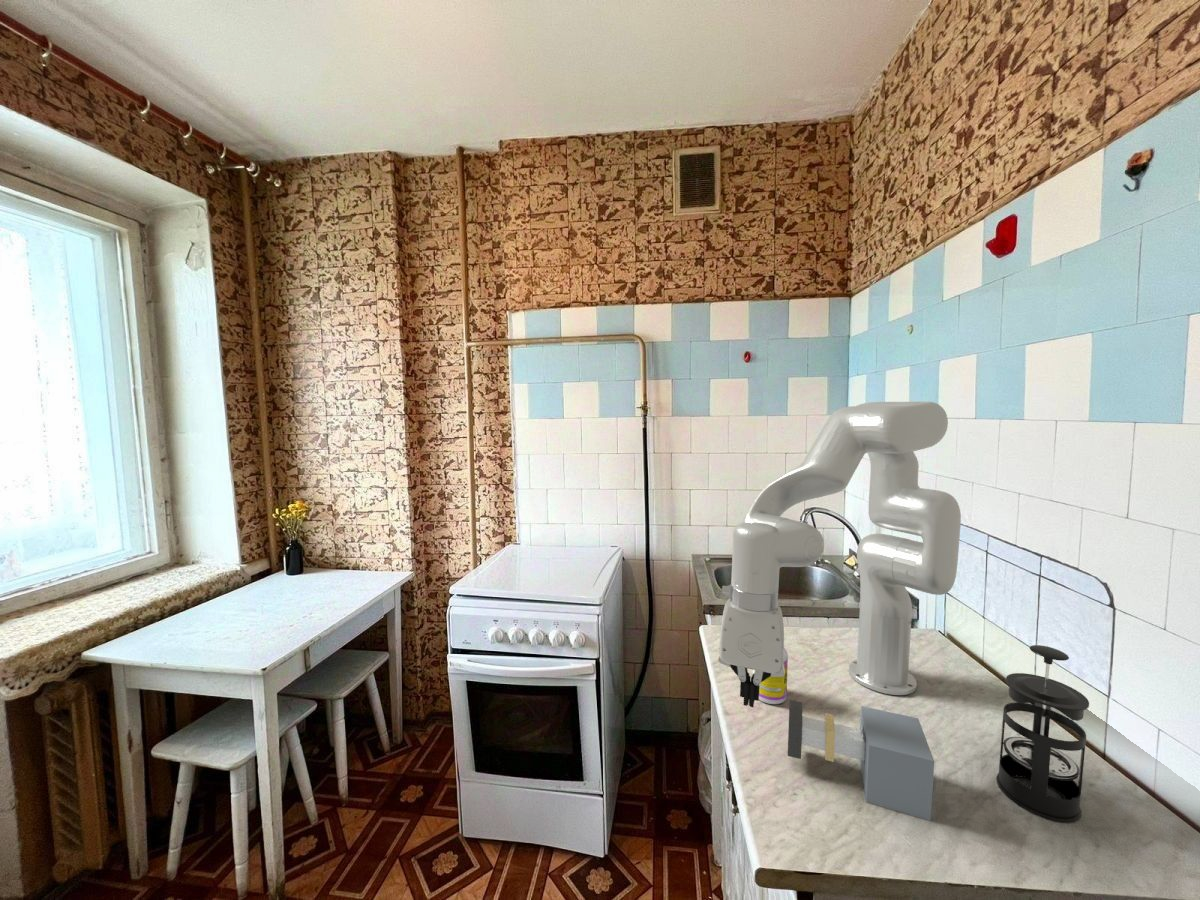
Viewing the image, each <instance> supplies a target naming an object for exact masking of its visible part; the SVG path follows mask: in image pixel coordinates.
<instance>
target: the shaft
mask: <svg viewBox="0 0 1200 900" xmlns="http://www.w3.org/2000/svg"><path fill="white" fill-rule="evenodd" d="M788 707H789V708H788V709H789V711H788V732H787V733H788V737H787V756H788V757H791V758H794V759H799V760H802V746H807V747H809V748H810V747H811V748H812V749H813V748H814V749H817V750H821V751H824V758H825V761H828V762H832V763H834V762H835V761H834V760H835V754H837V755H840V756H845V757H849V758H852V759H855V760H856V759H857V760H859V759H860V760H863V761H865V749H866V736H865V731H864V730H860V729H858V728H855V727H851V726H846V725H842V724H838V723H835V720H834V719H835V718H834V714H831V713H827V712H824V713H825V714H824V720H821V719H817V718H814V717H813V718H812V717H808V716H803V702H802V701H797V700H794V699H789V706H788Z"/></svg>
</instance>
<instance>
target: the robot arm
mask: <svg viewBox="0 0 1200 900" xmlns="http://www.w3.org/2000/svg"><path fill="white" fill-rule="evenodd" d="M948 424H949V420H948V415H947V412H946V410H945V409H944V407H943V406H942V405H940V404H939V403H936V402H934V401H875V402H873V401H871V402H864V403H860V404H857V405H854V406H844V407H841V408H838V409H837V410H835V411H834V412H832V413H831V414H830V416H829V418H827V421H826V422H825V423H824V425H823V427H822V429H821V431H820V432H819V434H818V435H817V438H816V439H815V440H814V442H813V444H812V446H811V447H810V449H809V451H808V452H807V454H806V456H805V457H804V459H803V461H802V462H801V463H800V465H799V466H796V467H795V468H792V469H791V470H789V471H788V472H786V473H784V474H783V475H781V476H780V477H778V478H777V479H775V480H773V481H772V482H770V484H768V485H766V486H765V487H764V488H763V489H762V490H761V492H759V494H758V495H757V496H756V498H755V499H754V501H753V502H752V504H751V506H750V507H749V509H748V511H747V512H746V515H745V516H744V518H743V521H742V522H741V523H738V524H737V525H736V526H734V529H733V534H732V552H731V553H732V555H731V557H732V558H731V559H732V560H731V561H732V562H731V576H730V577H731V582H730V584H729V585H722V588H721V593H722V594H724V595H726V596H728V599H727V600H726V601H725V604H724V607H723V612H722V618H721V628H720V633H719V634H720V636H719V652H718V653H719V656H718V660H717V661H718V663H720V664H722V665H724V666H726V667H729V668H731V670H732V672H734V673H735V675H737V678H738V680H739V681H740V684H739V687H740V688H739V689H740V690H739V696H740V698H743V706H745V707H746V706H749V707H750V708H754V706H755V701H757V702H758V701H760V700H759V686H760V684H761V682H763V681H764V680H766V679H767V678H769V677H770V676H773V677H783V676H784V675H785V669H784V664H783V661H784V648H785V630H784V629H785V626H784V617H783V612H782V607H781V606H780V605H778V604H779V603H778V602H779V583H780V582H779V581H780V569H781V568H783V567H784V568H802V567H803V568H804V567H808V566H810V565H813V564H815V563H816V562H817V561H818V560H820V558H821V556H822V555H823V552H824V550H825V541H824V537H823V534H822V533H821V532H820V530H818V529H817V528H816V527H814V526H813V525H811V524H809V523H806V522H803V521H798V520H794V519H790V518H787V517H786V518H785V517H783V516H782V515H783V514H784V513H785V512H786V511H787V510H788V509H790V508H792V507H793V506H796V505H797V504H800V503H802V502H805V501H806V502H807V501H809V500H810V501H811V500H813V499H818V498H819V499H820V498H823V497H826V496H829V495H830V496H831V495H834V494H835V495H836V494H837V493H841V492H842V491H844V490H845V489H846V488H847V486H848V485H849V483H850V482H851V479H852V478H853V476H854V474H855V472H856V471H857V469H858V467H859V464H860V462H861V461H862V459H863V458H864V456H865V454H867V455H868V457H869V461H870V479H869V490H868V492H869V493H868V517H869V520H870V522H871V523H873V525H875V526H877V527H879V528H883V529H885V530H890V531H894V532H899V533H902V534H903V533H904V534H909V535H914V536H919V537H920V538H921V539H922V542H921V541H917V540H912V539H909V538H906V537H899V536H895V535H892V534H885V533H873V534H868V535H866V536H864V537H863V538H862V539H861V540H860V542H859V543H858V545H857V548H856V560H857V566H858V573H859V581H860V582H859V583H860V584H859V585H860V587H859V588H860V591H859V592H860V595H859V614H858V615H859V617H858V639H857V658H856V659H854V660H852V661H851V662H850V663H849V664H848V672H849V675H850V676H851V677H852V679H854V680H855V681H856V682H857V683H859V684H860V685H861V686H863V687H865V688H867V689H870V690H872V691H874V692H878V693H882V694H885V695H891V696H907V695H911V694H913V693H914V692H915V691H917V687H918V686H917V685H918V684H917V680H916V678H915V677H914V676H913V674H911V673H910V672H909V667H910V666H909V665H910V651H911V635H912V615H913V604H912V603H913V602H912V600H911V597H910V594H909V592H908V590H907V588H909V589H912V590H915V591H919V592H922V593H926V594H930V595H934V596H935V595H936V596H942V595H946V594H947V593H949V592H950V591H951V590H952V588H953V587H954V584H955V581H956V578H957V573H958V572H957V570H958V561H959V560H958V559H959V551H960V550H959V549H960V547H959V546H960V537H961V524H962V523H961V521H962V517H961V516H962V515H961V509H960V505H959V502H958V501H957V499H956V498H955V497H954V496H953V495H952V494H950V493H948V492H945V491H942V490H936V489H930V488H922V487H920V485H919V465H920V464H919V460H918V458H917V456H916V455H917V454H915V452H916V451H920V450H925V449H929V448H932V447H934V446H935V445H937V444H939V443H940V442H941V441H942V439H943V438H944V437H945V435H946V433H947V431H948V427H949V426H948ZM748 669H749V670H752V671H753V670H755V673H754V674H753V673H752V675H750V673H749V670H748Z"/></svg>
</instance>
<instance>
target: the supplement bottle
mask: <svg viewBox="0 0 1200 900" xmlns="http://www.w3.org/2000/svg"><path fill="white" fill-rule="evenodd" d="M788 657H789V654H788V651H787V649H786V648H785V647H784V661H783V664H784V669H785V675H784V676H783V677H773V676H770V677H769V678H767V679H766V680H764V681H763V682H761V684H760V686H759V700H758V701H761V702H763V703H764V704H770V705H779V704H782V703H784V702H785V701H786V699H787V696H788V695H787V694H788V692H787V691H788V668H789V667H788V661H789V658H788ZM754 673H755V670H753V669H752V675H753V674H754Z"/></svg>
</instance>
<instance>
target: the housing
mask: <svg viewBox="0 0 1200 900" xmlns="http://www.w3.org/2000/svg"><path fill="white" fill-rule="evenodd" d="M860 707H861V709H860V729H859V730H864V731H865V736H866V749H865V761H863V760H860V759H858V760H859V765H860V771H861V772H860V773H861V779H862V785H863V790H864V791H863V792H864V797H865V802H866V803H868V804H871V805H875V806H878V807H881V808H885V809H889V810H892V811H894V812H898V813H902V814H906V815H909V816H913V817H915V818H916V817H917V818H920V819H923V820H926V821H930V822H931V818H932V804H933V802H932V801H933V787H934V771H935V759H934V757H933V754H932V751H931V749H930V746H929V743H928V741H927V738H926V736H925V732H924V730H923V728H922V727H923V726H922V725H921V722H920V720H919V717H913V716H908V715H904V714H900V713H894V712H891V711H887V710H881V709H877V708H872V707H868V706H863V705H861V706H860Z"/></svg>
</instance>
